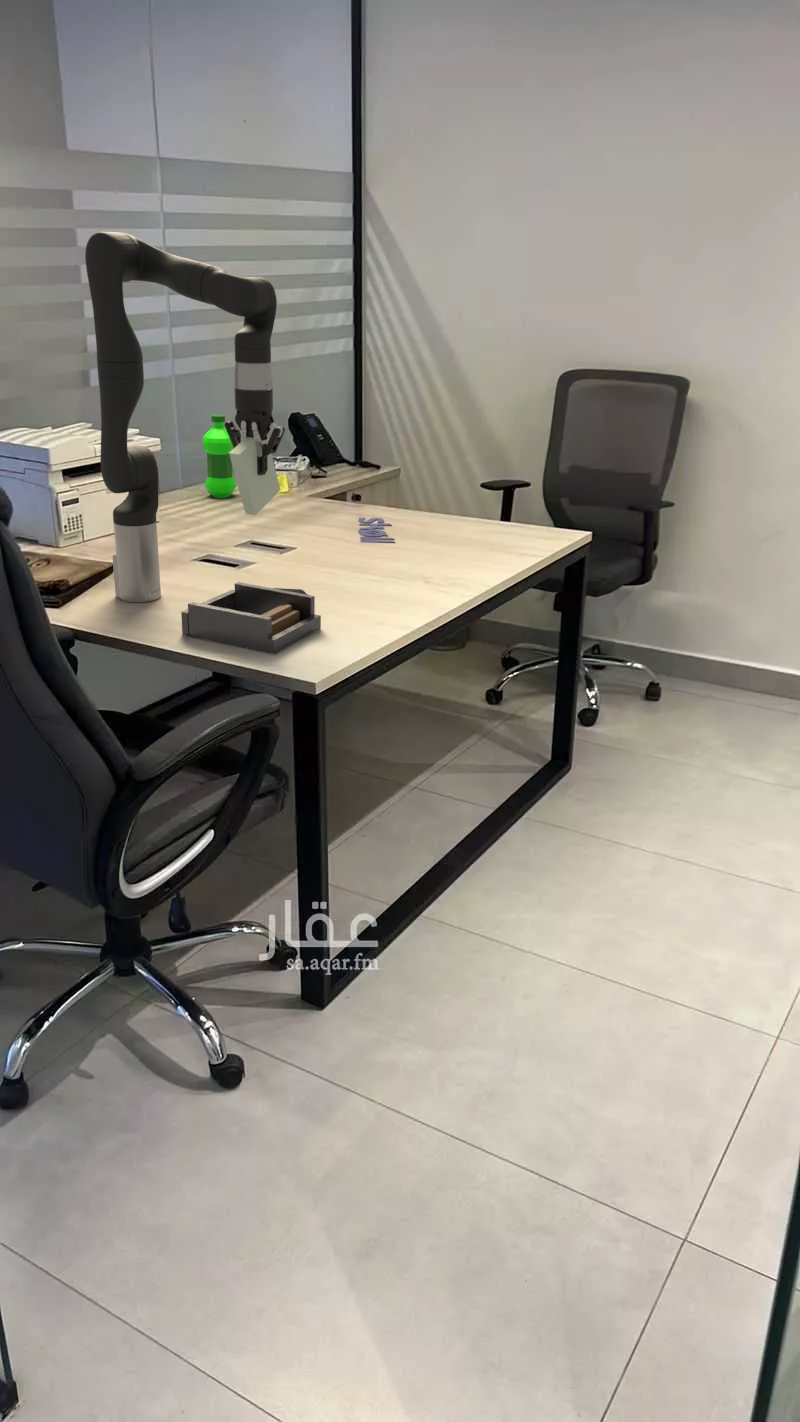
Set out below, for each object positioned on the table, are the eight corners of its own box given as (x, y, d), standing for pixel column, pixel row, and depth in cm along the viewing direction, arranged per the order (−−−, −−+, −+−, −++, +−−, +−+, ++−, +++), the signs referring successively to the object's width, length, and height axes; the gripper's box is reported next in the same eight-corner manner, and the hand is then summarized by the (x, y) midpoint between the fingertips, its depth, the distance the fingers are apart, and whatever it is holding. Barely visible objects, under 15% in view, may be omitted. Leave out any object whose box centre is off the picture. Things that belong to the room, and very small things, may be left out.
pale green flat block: (245, 513, 220) (229, 452, 211) (270, 488, 226) (255, 428, 217) (255, 515, 219) (239, 454, 210) (280, 490, 225) (265, 429, 216)
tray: (182, 635, 219) (180, 602, 216) (232, 611, 234) (231, 580, 231) (274, 654, 210) (274, 620, 208) (320, 628, 225) (320, 597, 222)
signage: (357, 517, 318) (390, 517, 319) (357, 519, 318) (390, 520, 319) (358, 541, 292) (395, 541, 293) (358, 543, 292) (395, 544, 293)
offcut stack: (250, 644, 216) (249, 618, 214) (282, 627, 226) (281, 602, 224) (268, 648, 214) (268, 621, 212) (299, 631, 224) (299, 606, 222)
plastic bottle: (216, 501, 334) (212, 418, 324) (198, 494, 341) (195, 414, 331) (243, 497, 340) (241, 416, 330) (225, 491, 347) (223, 412, 337)
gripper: (213, 384, 211) (216, 472, 218) (272, 390, 205) (273, 480, 212) (235, 381, 217) (238, 467, 224) (293, 387, 212) (294, 474, 218)
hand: (255, 473), depth 218 cm, fingers closed on pale green flat block, 2 cm apart
